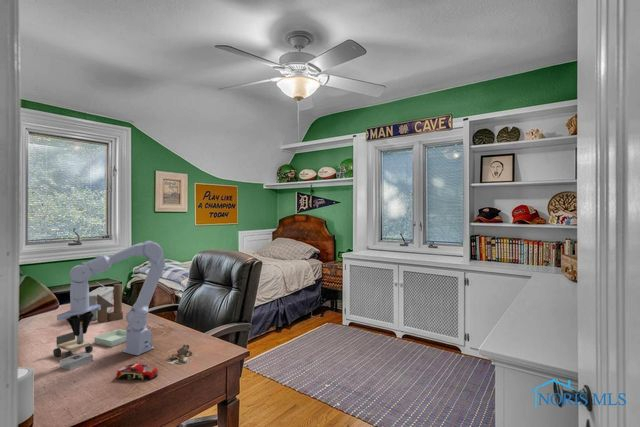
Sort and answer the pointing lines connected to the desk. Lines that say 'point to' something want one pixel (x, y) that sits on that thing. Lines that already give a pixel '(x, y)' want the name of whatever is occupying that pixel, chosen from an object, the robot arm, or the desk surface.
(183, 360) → the frog figurine
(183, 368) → the desk surface
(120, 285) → the wooden block
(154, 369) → the race car
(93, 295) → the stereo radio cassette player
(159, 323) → the desk surface
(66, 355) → the ramp trolley
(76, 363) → the plate
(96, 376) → the desk surface
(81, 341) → the pin
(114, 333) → the tray
